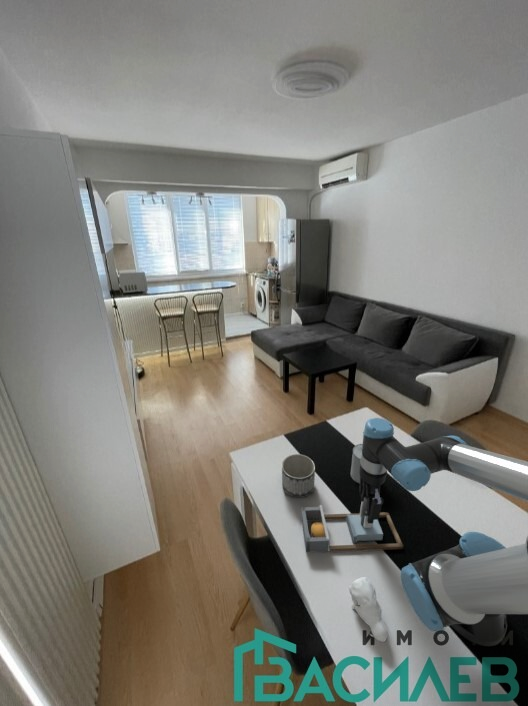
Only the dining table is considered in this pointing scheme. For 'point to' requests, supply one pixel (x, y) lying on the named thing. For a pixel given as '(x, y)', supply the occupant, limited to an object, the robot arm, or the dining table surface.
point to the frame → (310, 543)
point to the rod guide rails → (367, 546)
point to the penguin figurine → (368, 607)
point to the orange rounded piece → (317, 530)
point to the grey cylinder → (356, 463)
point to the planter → (298, 475)
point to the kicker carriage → (358, 529)
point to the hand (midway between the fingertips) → (365, 521)
